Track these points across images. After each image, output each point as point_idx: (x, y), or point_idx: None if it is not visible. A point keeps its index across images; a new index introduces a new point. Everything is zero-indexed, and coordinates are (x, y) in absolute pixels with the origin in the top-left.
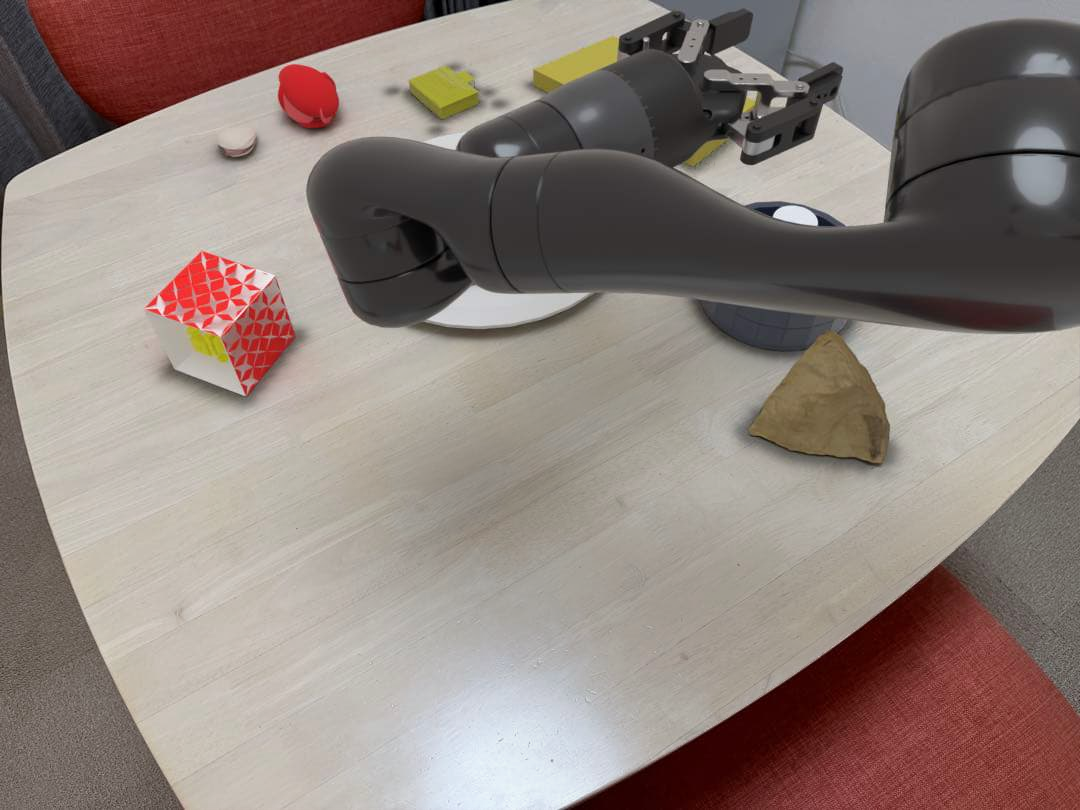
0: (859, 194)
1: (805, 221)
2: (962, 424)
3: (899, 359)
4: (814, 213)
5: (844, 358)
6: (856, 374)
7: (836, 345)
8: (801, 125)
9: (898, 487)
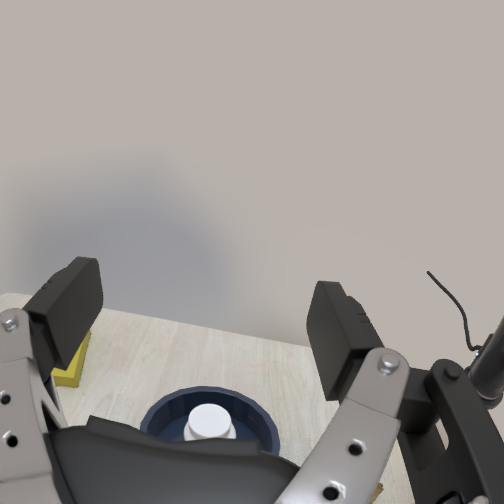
0: (183, 350)
1: (217, 415)
2: None
3: (310, 436)
4: (192, 391)
5: None
6: (378, 489)
7: None
8: (432, 424)
9: (392, 493)
